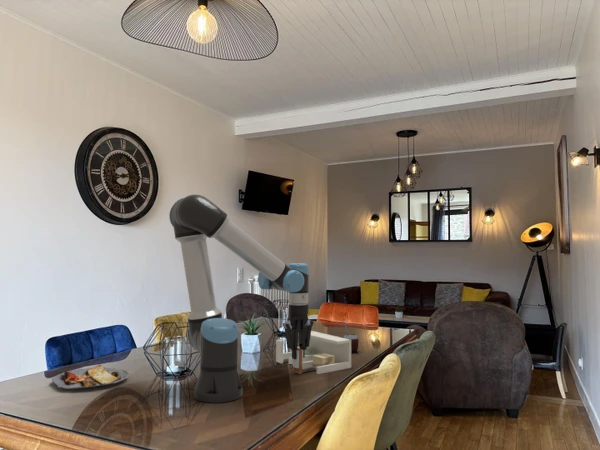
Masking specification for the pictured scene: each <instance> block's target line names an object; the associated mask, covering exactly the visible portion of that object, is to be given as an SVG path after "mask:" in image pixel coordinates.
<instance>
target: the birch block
mask: <svg viewBox="0 0 600 450" xmlns="http://www.w3.org/2000/svg"><path fill="white" fill-rule="evenodd" d="M297 350H299V368H295V367H293V372H294V373H295V374H298V375H301V374H303V373H306V372H312V371H316V367H319V366H324V365H330V364H335V356H332V355H329V354H325V353H324V354H318V355H313V367H309V368H304V369H302V349H300V348H297Z"/></svg>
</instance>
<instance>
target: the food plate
mask: <svg viewBox="0 0 600 450" xmlns="http://www.w3.org/2000/svg"><path fill="white" fill-rule="evenodd" d="M129 376H130V373H129V372H128V371H127V370H124V369H120V368H116V367H103V366H102V364H98V365H96V366H94V367H90V368H79V369H76V370H75V369H74V370H70V371H69V370H64V372H63V373H60V374H57V375H56V376H54V377H52V379H51V381H52V382H53V384H54V385H55V386H57V388H63V389H68V390H70V389H75V390H82V389H83V390H85V389H86V390H88V389H89V390H90V389H94V388H95V389H96V388H101V387H106V386H110V385H115V384H117V383H119V382H121V381H124V380H126V379H128V377H129Z"/></svg>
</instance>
